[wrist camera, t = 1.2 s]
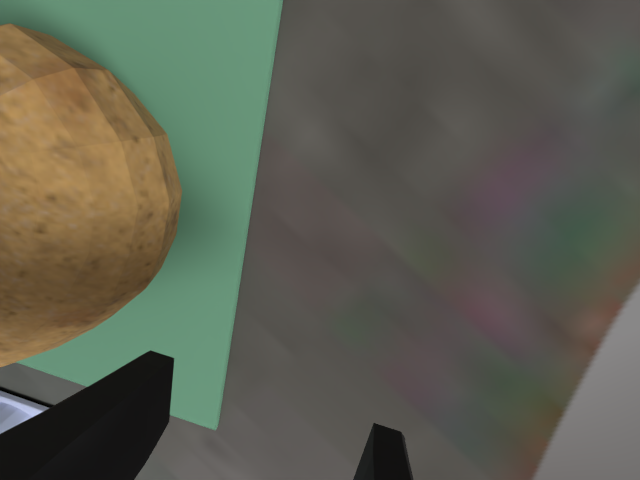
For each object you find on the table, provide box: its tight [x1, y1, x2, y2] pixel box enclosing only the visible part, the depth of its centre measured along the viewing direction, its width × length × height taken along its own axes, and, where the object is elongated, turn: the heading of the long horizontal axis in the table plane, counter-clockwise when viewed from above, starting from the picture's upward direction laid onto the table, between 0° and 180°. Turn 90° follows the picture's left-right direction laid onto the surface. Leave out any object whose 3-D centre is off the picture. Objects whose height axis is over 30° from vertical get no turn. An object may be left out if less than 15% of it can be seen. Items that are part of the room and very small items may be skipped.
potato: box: [0, 23, 182, 367], centre depth 15 cm, size 10×14×8 cm
